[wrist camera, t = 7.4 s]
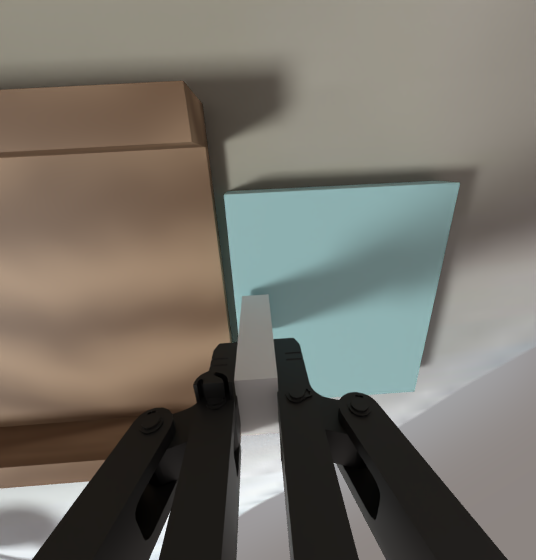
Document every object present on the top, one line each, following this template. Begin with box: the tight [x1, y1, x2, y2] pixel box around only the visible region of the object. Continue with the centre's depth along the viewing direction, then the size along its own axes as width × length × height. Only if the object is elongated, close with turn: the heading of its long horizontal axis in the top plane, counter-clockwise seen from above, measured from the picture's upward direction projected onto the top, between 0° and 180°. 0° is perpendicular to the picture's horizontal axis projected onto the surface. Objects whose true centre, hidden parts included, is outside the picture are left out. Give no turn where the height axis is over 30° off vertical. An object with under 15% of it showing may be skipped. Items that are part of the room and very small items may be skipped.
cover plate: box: [224, 181, 460, 398], centre depth 17 cm, size 14×12×2 cm
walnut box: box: [0, 81, 241, 488], centre depth 16 cm, size 22×25×4 cm
